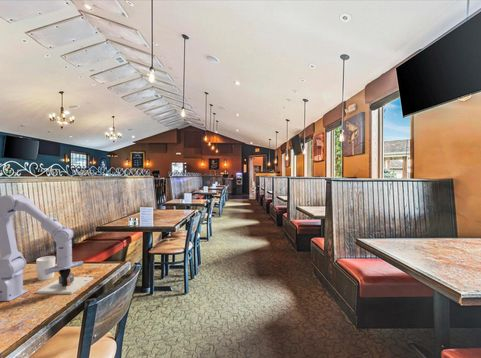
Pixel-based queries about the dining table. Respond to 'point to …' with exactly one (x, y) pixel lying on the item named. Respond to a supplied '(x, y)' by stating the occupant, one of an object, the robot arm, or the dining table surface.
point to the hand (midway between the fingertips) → (64, 285)
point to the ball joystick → (69, 279)
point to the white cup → (45, 267)
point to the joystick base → (59, 289)
